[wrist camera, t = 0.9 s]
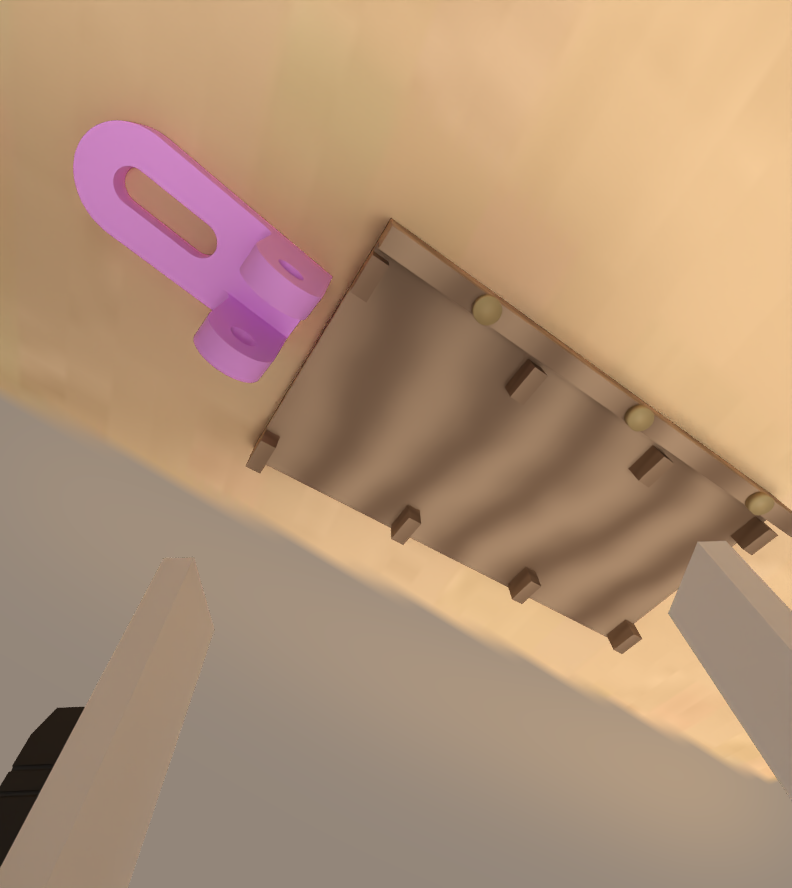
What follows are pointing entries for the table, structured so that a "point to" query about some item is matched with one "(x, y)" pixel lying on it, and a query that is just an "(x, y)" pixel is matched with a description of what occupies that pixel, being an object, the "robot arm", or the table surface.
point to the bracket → (203, 276)
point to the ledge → (503, 446)
